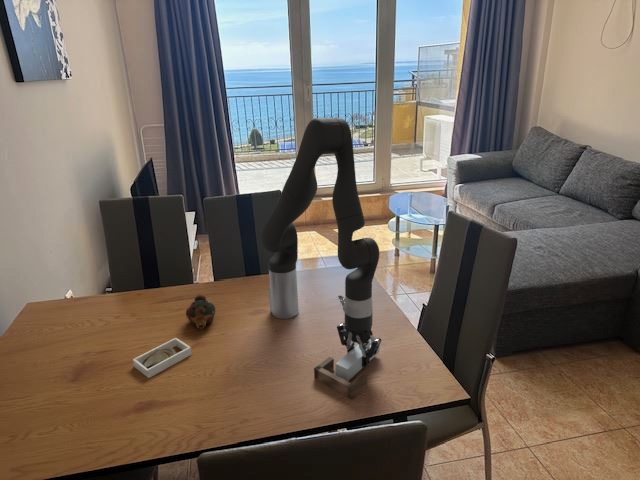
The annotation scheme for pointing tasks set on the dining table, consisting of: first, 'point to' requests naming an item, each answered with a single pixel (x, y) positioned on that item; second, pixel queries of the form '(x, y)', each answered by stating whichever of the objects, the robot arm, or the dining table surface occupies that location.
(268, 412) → the dining table surface
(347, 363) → the white rectangular bar
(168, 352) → the oyster shell
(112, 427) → the dining table surface
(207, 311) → the decorative turtle
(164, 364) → the shell dish
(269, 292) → the robot arm
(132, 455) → the dining table surface
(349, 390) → the end cap
